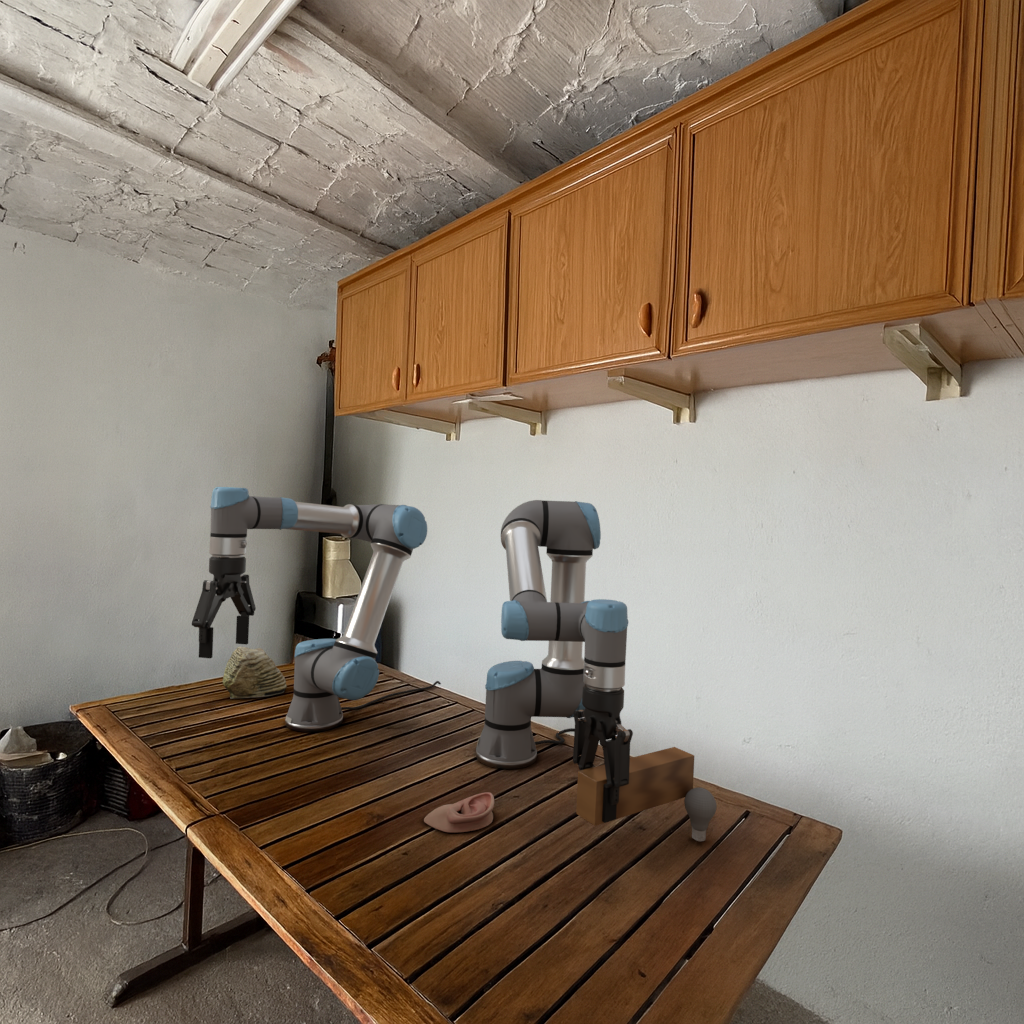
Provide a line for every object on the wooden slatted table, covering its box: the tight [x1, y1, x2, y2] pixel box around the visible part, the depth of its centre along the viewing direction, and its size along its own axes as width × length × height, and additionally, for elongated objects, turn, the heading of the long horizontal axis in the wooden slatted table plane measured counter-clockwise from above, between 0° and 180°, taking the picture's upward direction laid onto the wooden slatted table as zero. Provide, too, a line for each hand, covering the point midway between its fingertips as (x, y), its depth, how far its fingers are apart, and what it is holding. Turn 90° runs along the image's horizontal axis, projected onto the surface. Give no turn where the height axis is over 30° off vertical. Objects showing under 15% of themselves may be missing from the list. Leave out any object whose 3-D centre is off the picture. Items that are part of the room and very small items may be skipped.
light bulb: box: [683, 787, 718, 842], centre depth 123 cm, size 6×6×10 cm
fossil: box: [222, 646, 288, 699], centre depth 198 cm, size 9×18×15 cm, turn 132°
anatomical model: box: [423, 791, 495, 834], centre depth 127 cm, size 13×4×12 cm
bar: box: [575, 746, 695, 827], centre depth 121 cm, size 26×5×8 cm, turn 124°
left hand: (224, 650), depth 142 cm, fingers open, 13 cm apart
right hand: (597, 812), depth 115 cm, fingers closed on bar, 5 cm apart
